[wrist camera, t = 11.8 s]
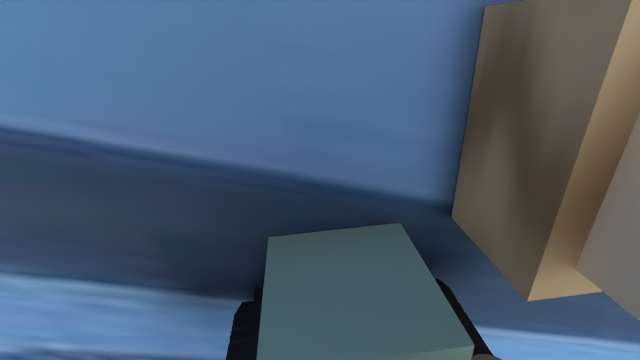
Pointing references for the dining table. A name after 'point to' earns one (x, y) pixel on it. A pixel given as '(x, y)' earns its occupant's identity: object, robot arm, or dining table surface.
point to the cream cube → (618, 234)
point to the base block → (546, 135)
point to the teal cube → (355, 300)
